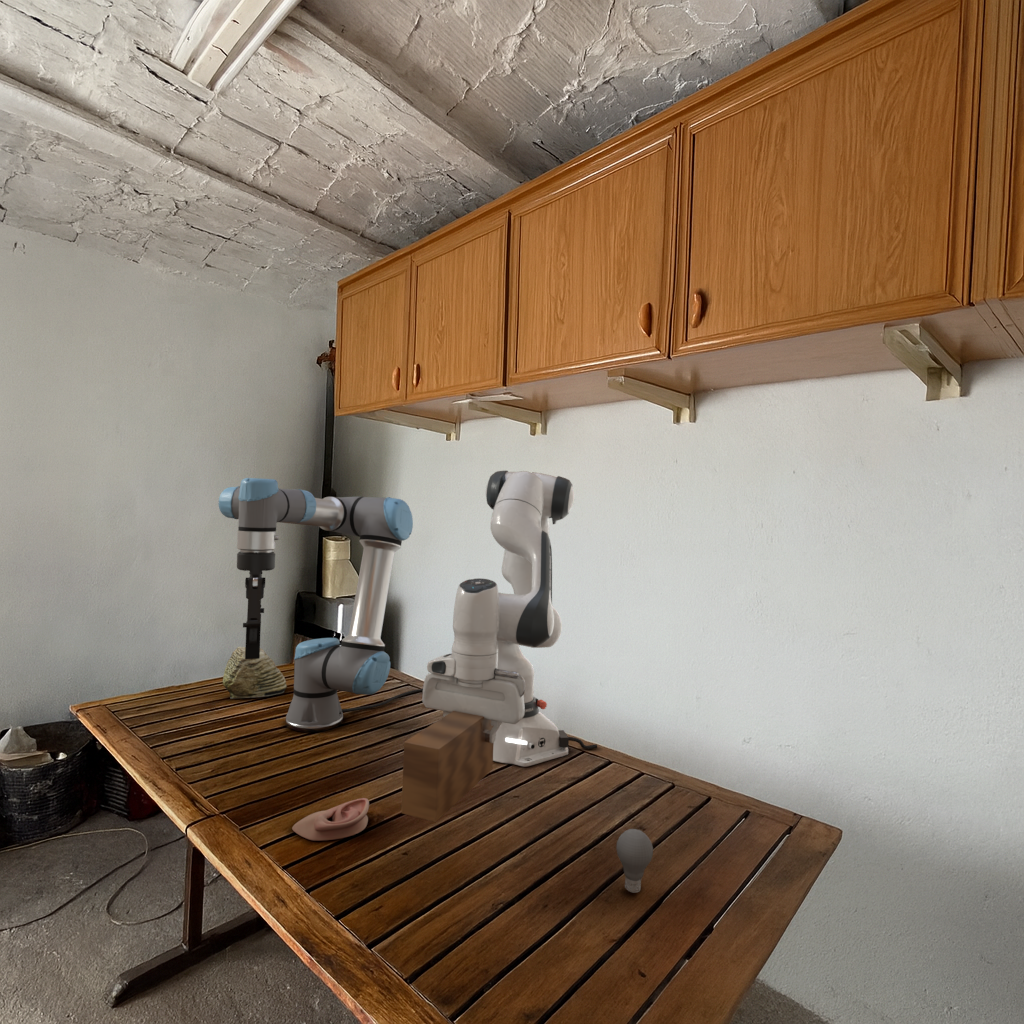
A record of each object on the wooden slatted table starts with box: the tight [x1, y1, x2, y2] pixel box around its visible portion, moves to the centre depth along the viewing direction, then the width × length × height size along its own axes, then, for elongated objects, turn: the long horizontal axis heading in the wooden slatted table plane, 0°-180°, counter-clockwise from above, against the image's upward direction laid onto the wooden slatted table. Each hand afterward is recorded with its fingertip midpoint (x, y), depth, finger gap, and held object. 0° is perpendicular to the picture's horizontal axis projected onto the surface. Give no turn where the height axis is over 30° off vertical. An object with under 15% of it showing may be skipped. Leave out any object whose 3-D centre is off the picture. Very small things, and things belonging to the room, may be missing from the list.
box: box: [400, 711, 494, 823], centre depth 113 cm, size 23×6×12 cm, turn 158°
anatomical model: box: [291, 797, 370, 842], centre depth 122 cm, size 13×4×12 cm
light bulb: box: [615, 828, 654, 894], centre depth 106 cm, size 6×6×10 cm
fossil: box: [222, 646, 288, 699], centre depth 198 cm, size 9×18×15 cm, turn 132°
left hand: (252, 650), depth 135 cm, fingers open, 13 cm apart
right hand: (471, 737), depth 120 cm, fingers closed on box, 6 cm apart
